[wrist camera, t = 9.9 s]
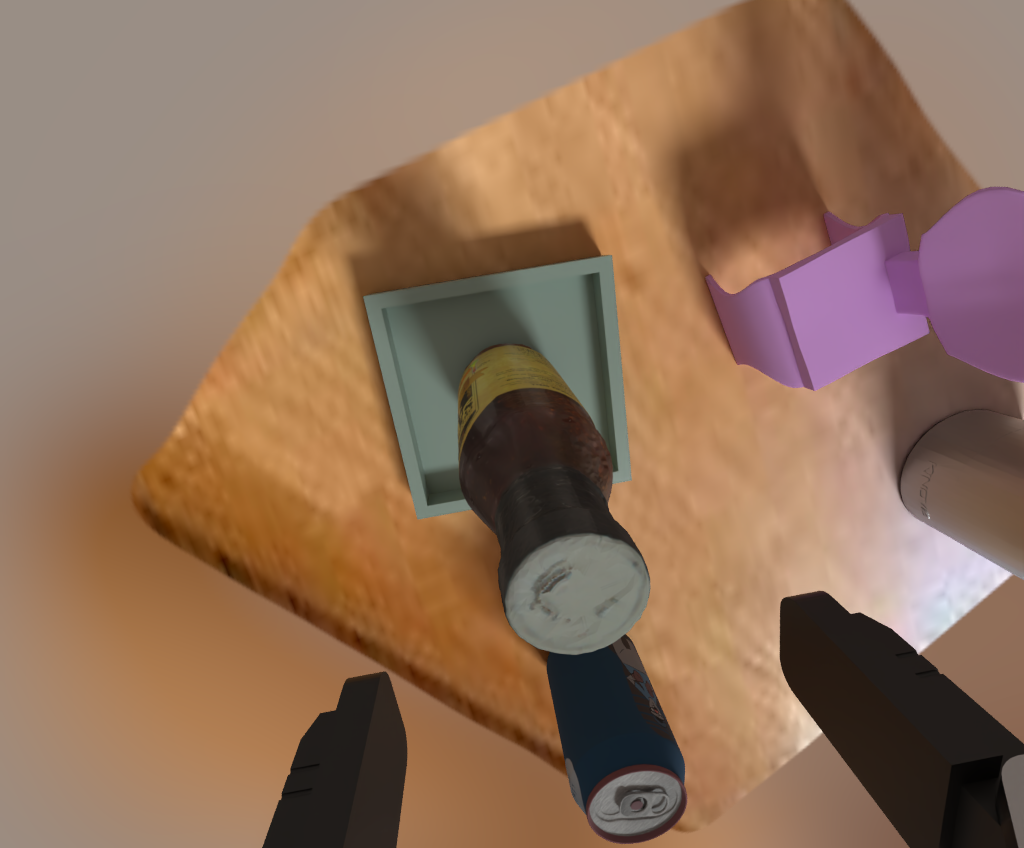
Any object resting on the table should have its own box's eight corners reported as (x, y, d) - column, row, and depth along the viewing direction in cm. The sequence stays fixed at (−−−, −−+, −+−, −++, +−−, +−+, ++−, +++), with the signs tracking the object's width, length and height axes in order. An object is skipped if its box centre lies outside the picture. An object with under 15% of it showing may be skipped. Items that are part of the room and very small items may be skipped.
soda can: (539, 685, 40) (568, 853, 29) (549, 612, 38) (586, 762, 27) (623, 685, 41) (684, 850, 29) (638, 614, 39) (710, 761, 27)
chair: (691, 265, 31) (883, 270, 17) (823, 195, 30) (1139, 137, 16) (734, 381, 34) (932, 470, 19) (857, 318, 33) (1154, 362, 19)
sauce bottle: (444, 356, 31) (413, 512, 12) (542, 326, 31) (665, 437, 12) (476, 451, 33) (492, 710, 14) (568, 424, 33) (706, 647, 14)
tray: (601, 255, 30) (611, 255, 28) (621, 467, 35) (631, 480, 33) (370, 293, 30) (362, 296, 28) (420, 503, 34) (417, 519, 32)
